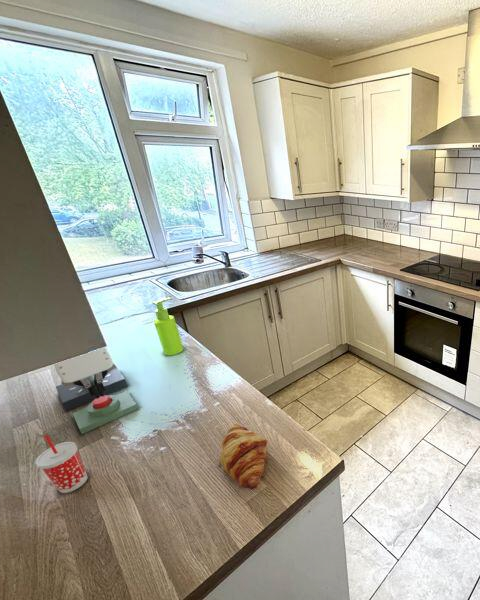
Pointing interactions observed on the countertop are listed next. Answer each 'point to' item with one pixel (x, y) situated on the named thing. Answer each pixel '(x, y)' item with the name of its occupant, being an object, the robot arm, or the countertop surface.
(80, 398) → the dial panel
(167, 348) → the soap dispenser
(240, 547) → the countertop surface
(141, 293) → the countertop surface
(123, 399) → the button block
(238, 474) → the croissant
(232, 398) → the countertop surface
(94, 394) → the robot arm
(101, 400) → the button
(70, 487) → the beverage cup
